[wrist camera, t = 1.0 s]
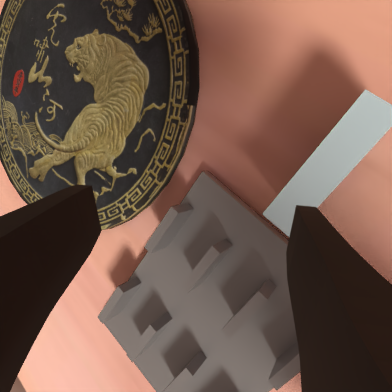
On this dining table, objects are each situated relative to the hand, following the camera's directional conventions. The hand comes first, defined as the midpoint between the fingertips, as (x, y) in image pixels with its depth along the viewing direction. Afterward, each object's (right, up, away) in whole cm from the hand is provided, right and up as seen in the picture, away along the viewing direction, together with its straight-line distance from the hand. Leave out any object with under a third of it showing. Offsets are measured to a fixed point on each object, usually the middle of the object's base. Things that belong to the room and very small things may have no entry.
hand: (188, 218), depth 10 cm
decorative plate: (-12, +12, +22) cm, 28 cm away
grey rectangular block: (+10, +3, +10) cm, 14 cm away
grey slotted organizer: (+1, -10, +16) cm, 18 cm away
